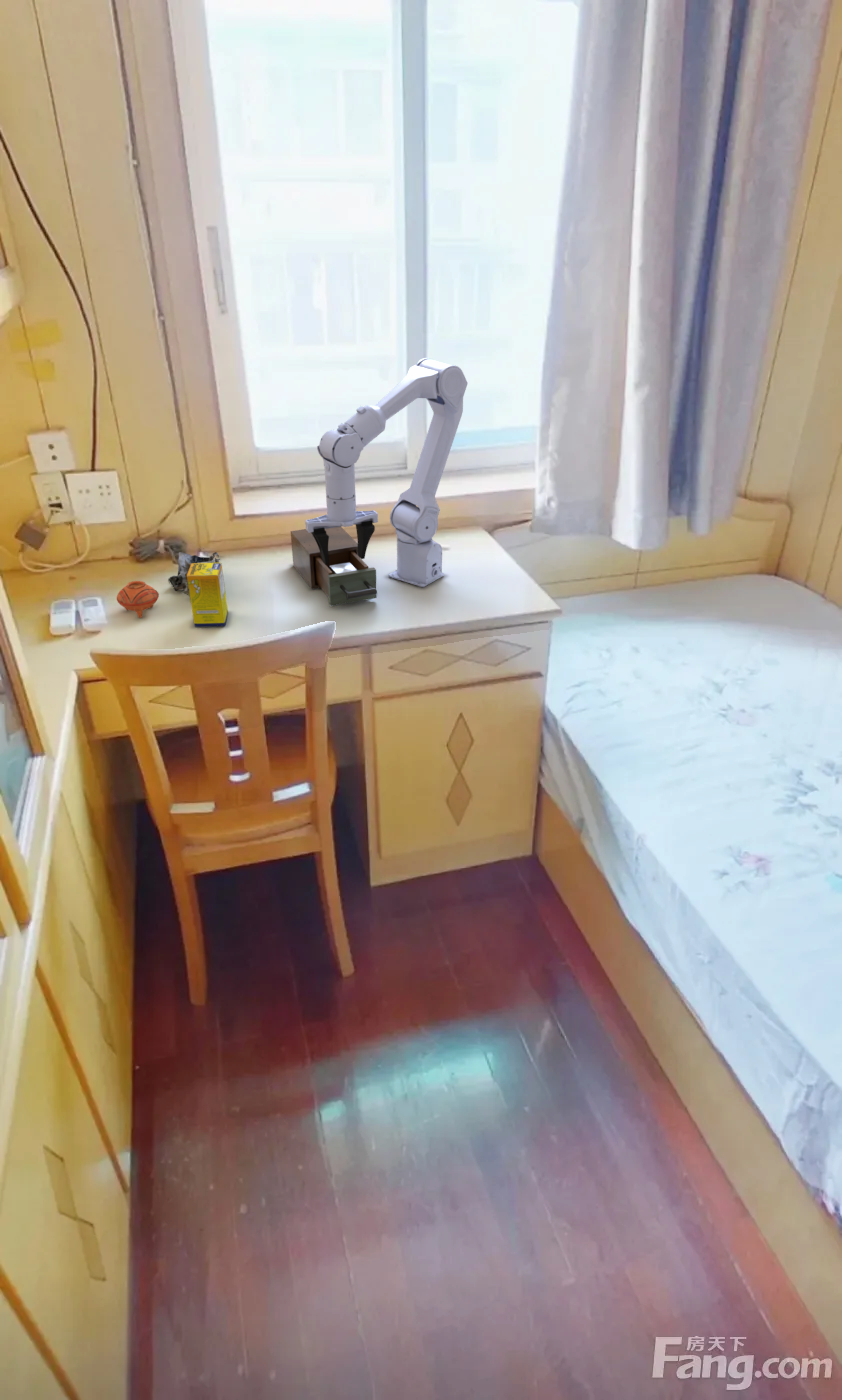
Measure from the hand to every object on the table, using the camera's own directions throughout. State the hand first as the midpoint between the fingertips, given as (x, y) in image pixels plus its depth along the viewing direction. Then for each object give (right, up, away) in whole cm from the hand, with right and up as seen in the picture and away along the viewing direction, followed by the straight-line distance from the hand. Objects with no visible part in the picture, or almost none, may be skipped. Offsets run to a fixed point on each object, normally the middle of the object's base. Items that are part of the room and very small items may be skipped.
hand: (343, 560), depth 169 cm
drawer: (+1, -7, +2) cm, 7 cm away
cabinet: (-5, -1, +14) cm, 15 cm away
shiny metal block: (0, -5, +3) cm, 6 cm away
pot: (-40, -11, -3) cm, 42 cm away
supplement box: (-25, -13, -6) cm, 29 cm away
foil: (-31, -5, +7) cm, 32 cm away
